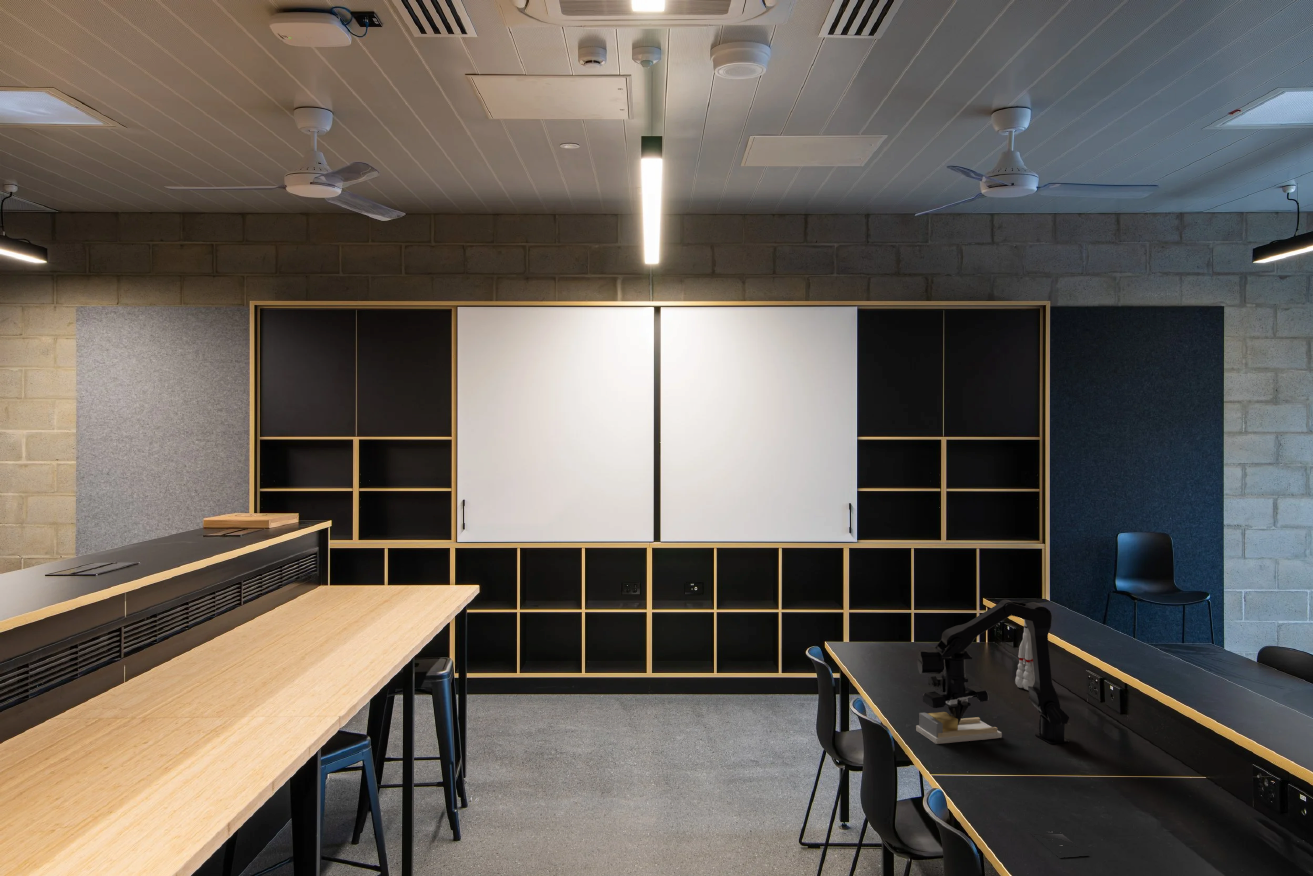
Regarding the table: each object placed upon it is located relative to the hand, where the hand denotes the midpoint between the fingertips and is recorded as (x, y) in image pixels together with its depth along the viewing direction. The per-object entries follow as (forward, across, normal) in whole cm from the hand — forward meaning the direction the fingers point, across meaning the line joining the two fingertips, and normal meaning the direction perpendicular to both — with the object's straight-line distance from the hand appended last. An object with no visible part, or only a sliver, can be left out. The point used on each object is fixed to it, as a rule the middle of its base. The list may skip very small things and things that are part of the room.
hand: (956, 725), depth 225 cm
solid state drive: (+2, +16, +58) cm, 61 cm away
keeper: (+1, +5, 0) cm, 5 cm away
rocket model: (+6, -50, -31) cm, 60 cm away
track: (+3, -1, 0) cm, 3 cm away
